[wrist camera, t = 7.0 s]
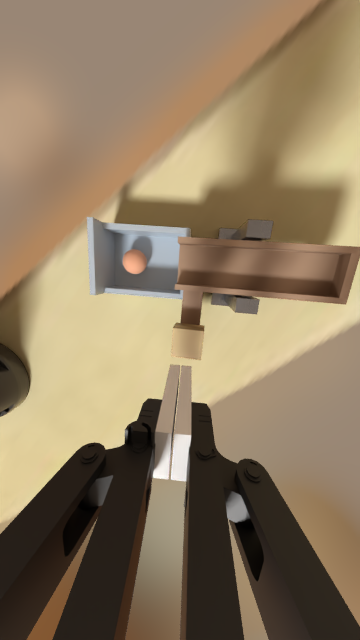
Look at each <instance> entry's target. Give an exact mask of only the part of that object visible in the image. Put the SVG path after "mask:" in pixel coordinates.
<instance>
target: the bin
mask: <svg viewBox="0 0 360 640" xmlns="http://www.w3.org/2000/svg"><path fill="white" fill-rule="evenodd" d="M87 229H88V253H89V278H90V295H98V294H102V293H112V294H124V295H136V296H148V297H160V298H172V299H183V290H175V284H176V283H177V279H178V264H179V249H180V244H179V243H178V236H179V237H191V228H179V227H164V226H149V225H133V224H118V223H103V222H101V221H99V220H97V219H95V218H93V217H87ZM132 249H136V250H139V251H141V252H142V253H143V254H144V255H145V256H146V259H147V266H146V268H145V270H144V271H143V272H141V273H139V274H132V273H130V272H128V271H127V270H126V269H125V268H124V265H123V256H124V254H125V253H126V252H127V251H129V250H132Z"/></svg>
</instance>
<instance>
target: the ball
mask: <svg viewBox="0 0 360 640" xmlns="http://www.w3.org/2000/svg"><path fill="white" fill-rule="evenodd" d="M123 265H124V268H125V269H126V270H127V271H128V272H130V273H132V274H139V273H141V272H143V271H144V270H145V268H146V266H147V259H146V256H145V255H144V254H143V253H142V252H141V251H139V250H136V249H132V250H129V251H127V252H126V253H125V254H124V256H123Z"/></svg>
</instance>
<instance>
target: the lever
mask: <svg viewBox="0 0 360 640" xmlns="http://www.w3.org/2000/svg"><path fill="white" fill-rule="evenodd" d="M178 243H179V244H180V249H179V264H178V279H177V283H176V284H175V290H183V301H182V314H181V323H176V324H175V325H174V327H173V336H172V351H171V356H172V357H180V358H188V359H196V360H201V355H202V346H203V337H204V326H202V325H200V316H201V306H202V297H203V292H210V293H221V294H233V295H244V296H255V297H267V298H278V299H290V300H301V301H313V302H324V303H336V304H346V303H347V299H348V296H349V292H350V289H351V285H352V282H353V278H354V275H355V271H356V268H357V264H358V261H359V258H360V247H351V246H334V245H316V244H299V243H282V242H265V241H247V240H230V239H213V238H196V237H179V236H178Z"/></svg>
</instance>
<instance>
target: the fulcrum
mask: <svg viewBox="0 0 360 640" xmlns="http://www.w3.org/2000/svg"><path fill="white" fill-rule="evenodd" d="M272 226H273V221H266V220H250V219H248V220H247V221H246V222H245V223H244V224H243V225H242V226H241V227H240V228H239V229H226V228H220V229H219V238H218V239H230V240H247V241H265V240H268V239H270V237H271V231H272ZM211 305H223V306H229V307H230V308H231V309H232V310H233V311H234V312H237V313H249V314H257V311H258V305H259V299H257V298H254V297H252V296H244V295H233V294H221V293H212V299H211Z"/></svg>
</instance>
